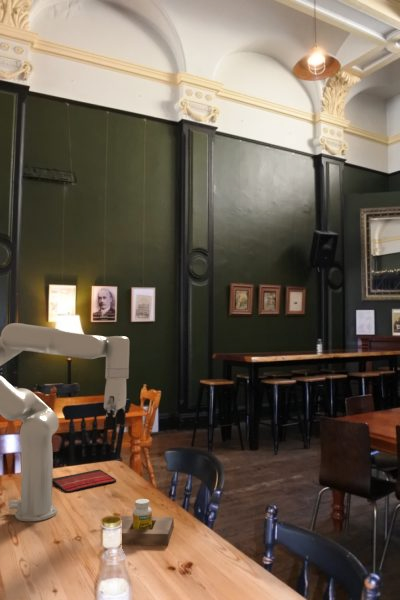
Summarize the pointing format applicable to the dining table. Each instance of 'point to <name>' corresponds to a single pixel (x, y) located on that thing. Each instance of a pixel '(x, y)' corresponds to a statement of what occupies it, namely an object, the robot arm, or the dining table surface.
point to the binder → (83, 481)
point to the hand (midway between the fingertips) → (115, 426)
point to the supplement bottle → (142, 515)
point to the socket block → (147, 531)
